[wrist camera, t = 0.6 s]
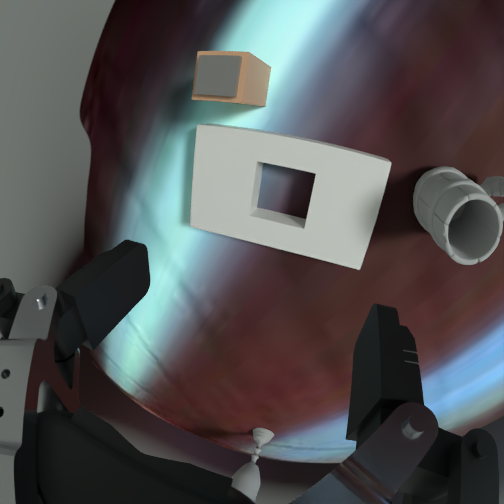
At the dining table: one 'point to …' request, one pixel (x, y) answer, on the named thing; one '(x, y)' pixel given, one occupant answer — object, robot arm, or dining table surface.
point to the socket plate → (278, 224)
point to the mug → (460, 213)
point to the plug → (231, 78)
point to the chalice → (251, 467)
